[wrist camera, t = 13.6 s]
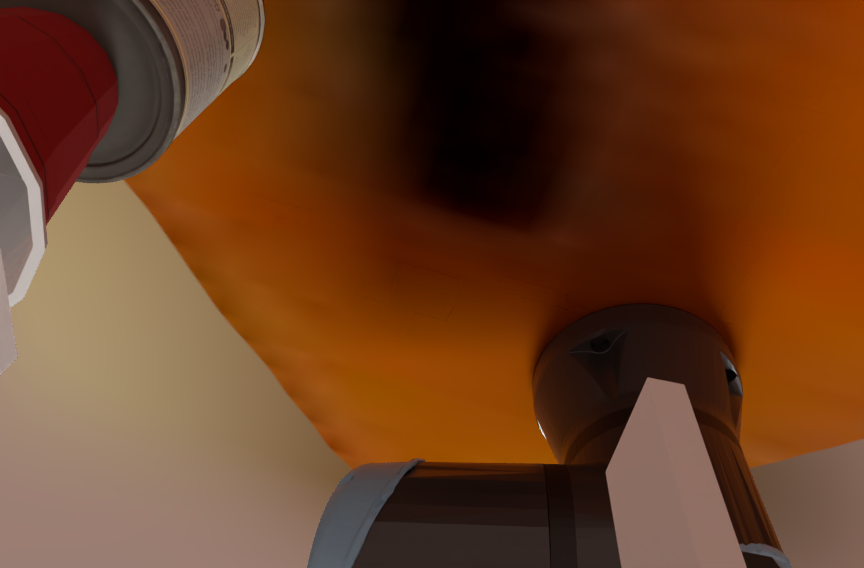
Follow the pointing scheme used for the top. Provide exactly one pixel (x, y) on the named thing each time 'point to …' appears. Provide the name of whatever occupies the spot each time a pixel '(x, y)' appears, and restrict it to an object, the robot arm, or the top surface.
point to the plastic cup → (45, 127)
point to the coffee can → (160, 68)
